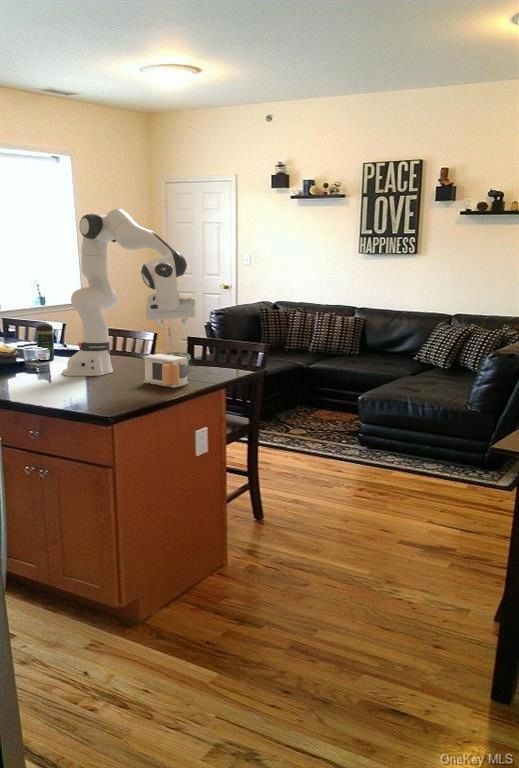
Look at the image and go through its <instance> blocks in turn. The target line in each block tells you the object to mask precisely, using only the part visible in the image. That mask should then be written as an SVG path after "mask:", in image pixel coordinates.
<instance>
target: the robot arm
mask: <svg viewBox="0 0 519 768" xmlns="http://www.w3.org/2000/svg"><path fill="white" fill-rule="evenodd" d="M79 231H80V233H81V236H82V242H81V273H82V275H83V276H85V278H86V280H87V283H88V286H87V287H85V286H84V287H82V288H78V289H76V290H75V291H74V292H72V294H71V298H70V302H71V306H72V307H73V309H74V310H76V312H77V313H78V315H79V318H80V320H81V324H82V333H83V334H82V335H83V341H78V343H77V346H78V347H79V348H78V349H79V350H78V351H77V352H76V353H74V354H73V355H72V356H71V357H69V358H68V361H67V363H66V364H67V365H66V368H65V369H64V368H63V370H62V373H61V374H62V375H64V376H66V377H70V376H71V377H76V376H77V377H80V376H81V377H83V376H85V377H86V376H87V377H88V376H89V377H90V376H91V377H94V376H97V377H98V376H103V375H107V374H111V373H113V372H114V369H113V367H112V362H111V356H110V353H111V343H110V339H109V324H108V322H106V321H105V320H104V318H103V315H102V311H107V310H109V309H111V308H113V307H114V306H115V305H116V304H117V302H118V294H117V292H116V290H115V289H114V288H113V287H112V285H111V281H110V279H109V274H108V249H107V248H108V243H109V242H110V241H111V243H117V244H118V245H119V246H121V248H123V249H126V250H133V251H134V250H140V249H152V250H155V251H156V252H157V253H159V255H160V257H159V258H156V259H153V260H150V261H148V262H146V263H144V264H143V265H142V267H141V270H140V271H141V272H140V274H141V278H142V280H143V283H144V284H145V286H147V287H148V288H150V289H152V290H155V291H156V292H154V293H151V294H149V295H148V296H147V300H146V306H145V307H146V309H145V311H146V312H145V313H146V314H145V315H146V320H148V321H155V322H157V323H158V324H159V327H164V321H163V320H170V319H173V320H174V319H181V323H182V325H187V320H188V319H189V318H194V317H196V316H197V315H196V307H195V306H196V300H195V299H193V298H191V297H187V298H183V297H182V298H181V297H180V292H179V289H178V287H179V286H178V285H179V284H178V279H177V278H179V277H182V276H184V274H185V273H186V270H187V268H188V266H187V265H188V264H187V261H186V259H185V257H184V256H183V255H182V254H181V253H180V252H178V251H177V250H175V249H174V248H173V247H172V246H170V245H169V244H168V243H167V242H166V241H165V240H164V239H162V237H160V236H159V235H158V234H157V233H156V232H155V231H153V230H151V229H146V228H145V227H142V226H140V225H138V223H137V222H136V221H135V220H134V218H133V217H131V216H130V215H129V213H127V212H126V211H125V210H123V209H122V208H113V209H111V210H110V211H109V212H108V213H103V214H102V213H100V214H99V213H98V214H97V213H96V214H94V213H88V214H85V215H83V216H82V217H81V219H80V221H79Z"/></svg>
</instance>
